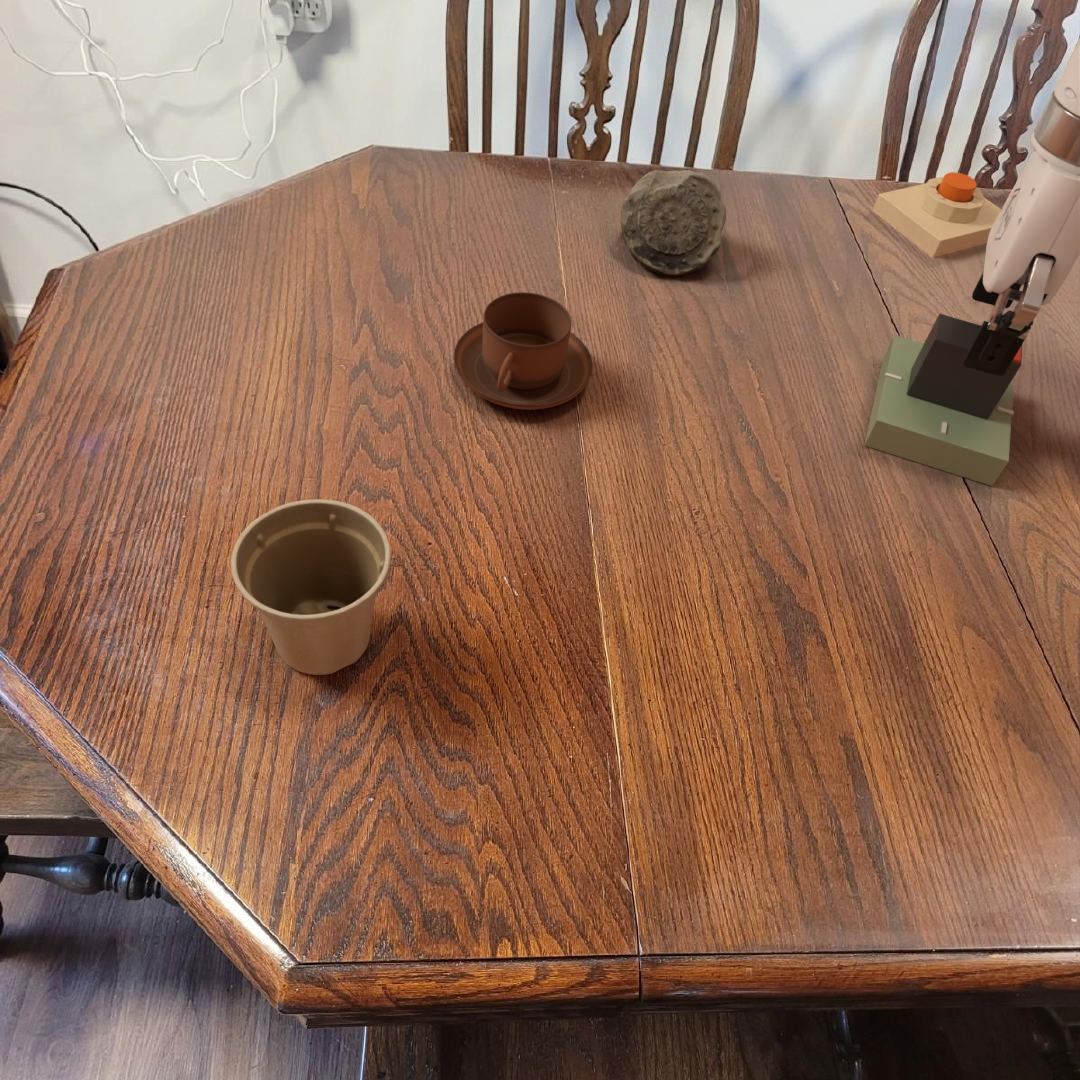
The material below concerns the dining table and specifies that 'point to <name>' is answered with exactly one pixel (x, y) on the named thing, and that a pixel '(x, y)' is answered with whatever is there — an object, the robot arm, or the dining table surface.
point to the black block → (956, 371)
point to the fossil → (673, 221)
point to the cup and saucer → (523, 354)
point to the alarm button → (957, 187)
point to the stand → (936, 424)
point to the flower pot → (313, 580)
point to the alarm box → (937, 218)
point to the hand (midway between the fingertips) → (986, 334)
